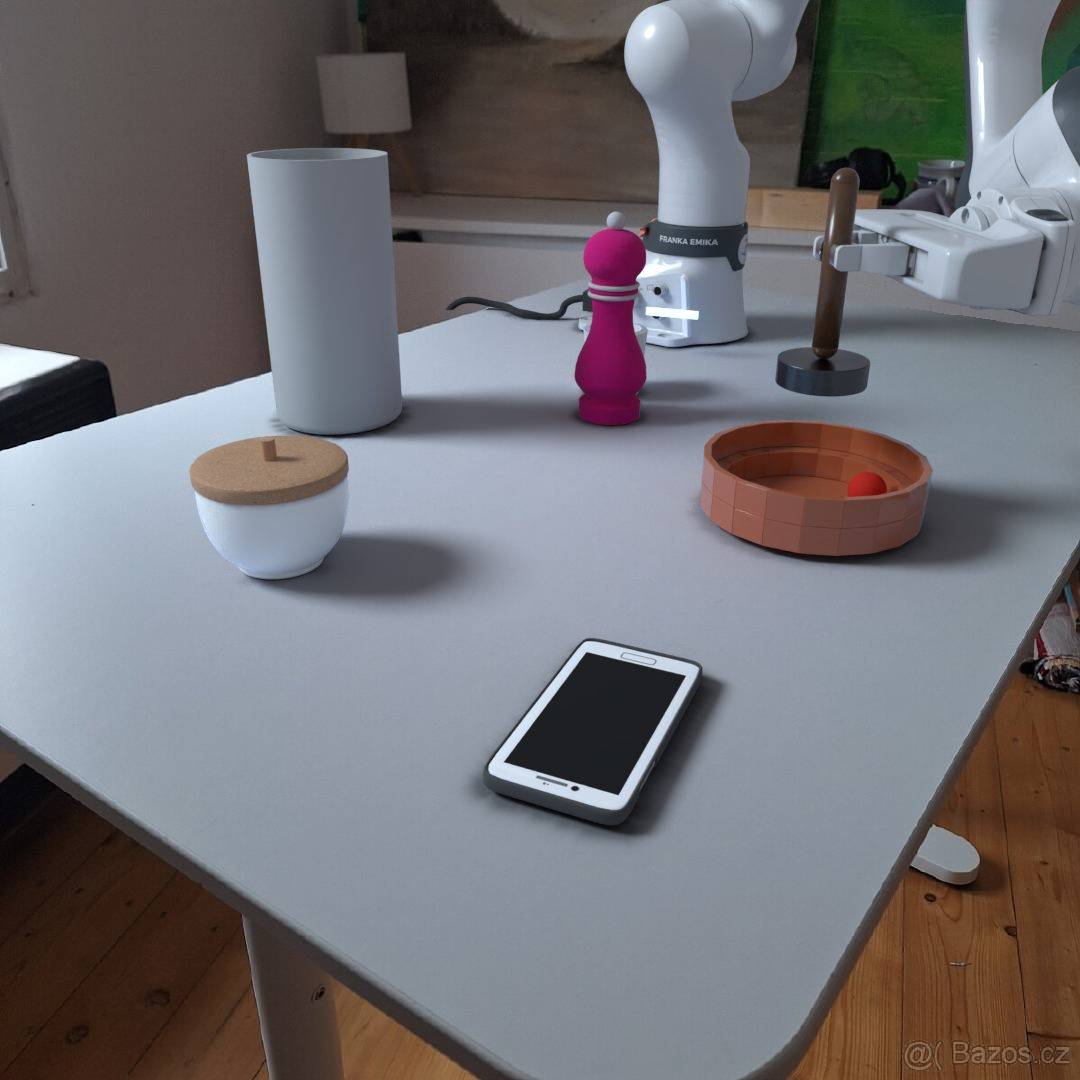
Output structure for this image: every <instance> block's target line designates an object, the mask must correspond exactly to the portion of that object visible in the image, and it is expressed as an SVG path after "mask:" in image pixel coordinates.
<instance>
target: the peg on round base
mask: <svg viewBox="0 0 1080 1080" xmlns="http://www.w3.org/2000/svg"><path fill="white" fill-rule="evenodd" d="M829 185H830V187H829V195H828V204H827V212H826V219H825V228H824V235H823V236H824V245H823V254H822V262H821V261H820V262H821V263H820V272H819V281H818V289H817V298H816V307H815V314H814V316H815V317H814V324H813V332H812V341H811V346H807V347H806V346H805V347H796V348H789V349H786V350H783V351H781V352H779V353H778V354H777V359H776V368H775V378H774V381H775V383H776V384H777V385H778V386H779V387H780V388H782V389H784V390H787V391H789V392H793V393H797V394H799V395H805V396H813V397H827V398H829V397H832V398H836V397H837V398H838V397H849V396H852V395H857V394H860V393H863V392H865V391H866V390H867V388H868V382H869V375H870V369H871V361H870V359H869V358H867V356H865V355H863V354H861V353H859V352H855V351H851V350H846V349H840V348H839V347H840V339H841V330H842V323H843V316H844V308H845V301H846V300H845V299H846V292H847V284H848V276H849V271H842V272H841V271H838V270H836V269H835V268H833V267H831V266H830V264H829V258H830V250H831V247H832V246H833V245H834V244H836V243H852V237H853V230H854V222H855V214H856V209H857V205H858V197H859V189H860V176H859V173H858V172H857V171H856V170H855V169H853V168H851V167H843V168H840V169H838V170H836V172H834V173H833V175H832V177H831V179H830V184H829Z"/></svg>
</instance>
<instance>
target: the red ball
mask: <svg viewBox="0 0 1080 1080" xmlns="http://www.w3.org/2000/svg"><path fill="white" fill-rule="evenodd" d="M847 492H848V497H858V496H875V495H881V494H885V493H887V486H886V483H885V481H884V480H883V478H882V477H880V476H879V475H878V474H876V473H873V472H862V473H859V474H857V475H856V476H854V477H853V478H852V480H851V481H850V483H849V485H848V490H847Z"/></svg>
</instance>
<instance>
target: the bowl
mask: <svg viewBox="0 0 1080 1080" xmlns="http://www.w3.org/2000/svg"><path fill="white" fill-rule="evenodd" d="M933 471H934V470H933V467H932V466H931V464H930V462H929V460H928V458H927V456H926V455H924V454H923V453H921V452H920V451H919V450H917V449H916V448H914V447H913V446H912V445H910V444H908V443H906V442H904V441H902V440H899V439H897V438H894V437H892V436H890V435H887V434H884V433H880V432H877V431H873V430H870V429H866V428H862V427H858V426H854V425H846V424H840V423H833V422H828V421H817V420H800V419H799V420H797V419H784V420H763V421H762V420H761V421H755V422H750V423H745V424H740V425H735V426H734V425H733V426H732V427H729V428H727V429H723V430H721V431H718V432H717V433H715V434H714V435H712V436H711V437H710V438H709V439H708V440H707V441H706V442H705V443H704V447H703V458H702V471H701V483H700V498H699V499H700V500H699V507H700V508H701V510H702V511H703V513H704V514H705V516H706V517H707V518H708V519H709V521H710V522H712V523H713V524H715V525H717V526H718V527H720V528H721V529H723V530H724V531H726V532H727V533H729V534H730V535H733V536H735V537H738V538H742V539H743V540H746V541H749V542H752V543H754V544H757V545H760V546H762V547H768V548H771V549H776V550H781V551H786V552H789V553H790V552H791V553H796V554H803V555H815V556H831V557H832V556H833V557H843V556H854V555H856V556H857V555H869V554H875V553H880V552H883V551H884V552H885V551H887V550H890V549H895V548H899V547H901V546H903V545H904V544H906V543H908V542H909V541H910V540H912V539H913V538H915V537H917V536H918V535H919V533H920V530H921V528H922V525H923V523H924V519H925V514H926V509H927V503H928V497H929V493H930V487H931V481H932V477H933ZM862 472H873V473H876V474H878V475H879V476H880V477H882V478H883V480H884V481H885V483H886V486H887V493H885V494H881V495H875V496H858V497H848V492H847V490H848V485H849V483H850V481H851V480H852V478H853V477H854V476H856V475H857V474H859V473H862Z"/></svg>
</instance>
